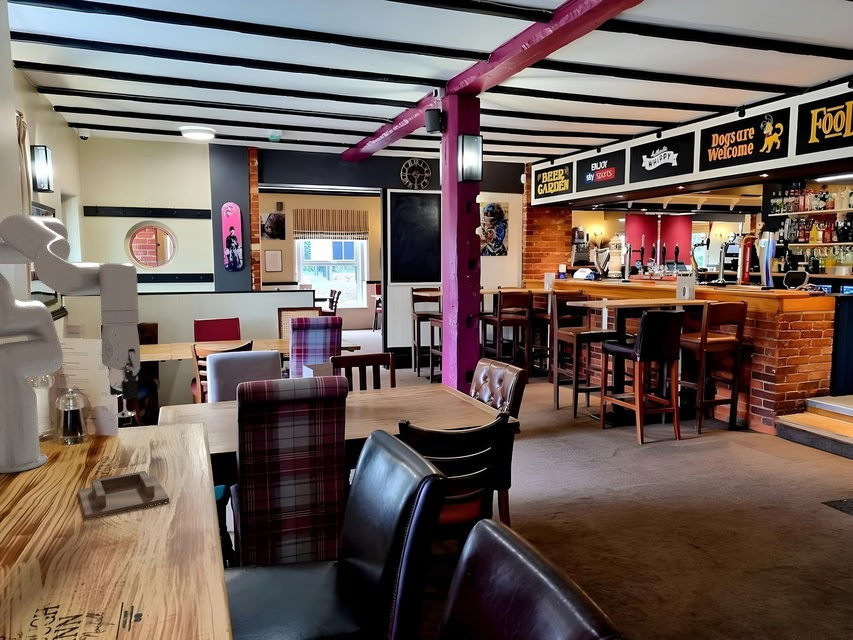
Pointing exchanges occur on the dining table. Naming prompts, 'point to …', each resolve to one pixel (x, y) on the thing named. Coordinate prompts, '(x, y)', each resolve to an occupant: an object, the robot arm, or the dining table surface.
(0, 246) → the robot arm
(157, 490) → the u rest
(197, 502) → the dining table surface
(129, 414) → the wineglass
